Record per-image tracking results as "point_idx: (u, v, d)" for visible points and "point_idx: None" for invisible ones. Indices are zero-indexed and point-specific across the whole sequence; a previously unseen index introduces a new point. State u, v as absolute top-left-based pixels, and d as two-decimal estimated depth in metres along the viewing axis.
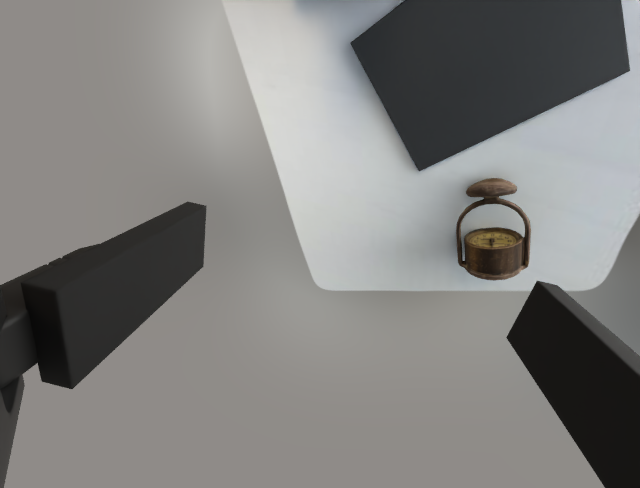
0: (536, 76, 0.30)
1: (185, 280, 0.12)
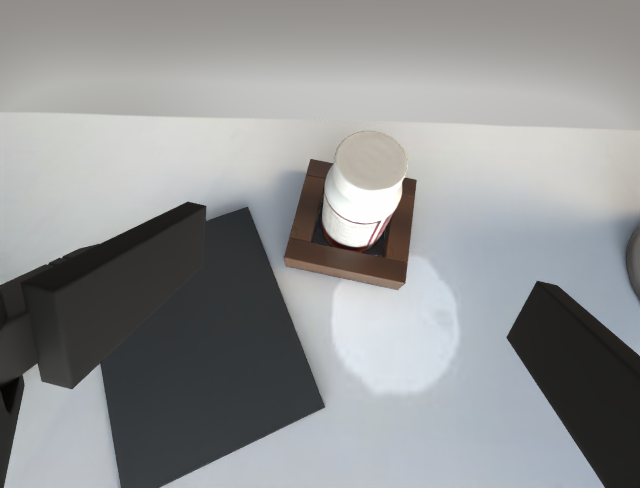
0: (155, 390, 0.26)
1: (185, 280, 0.12)
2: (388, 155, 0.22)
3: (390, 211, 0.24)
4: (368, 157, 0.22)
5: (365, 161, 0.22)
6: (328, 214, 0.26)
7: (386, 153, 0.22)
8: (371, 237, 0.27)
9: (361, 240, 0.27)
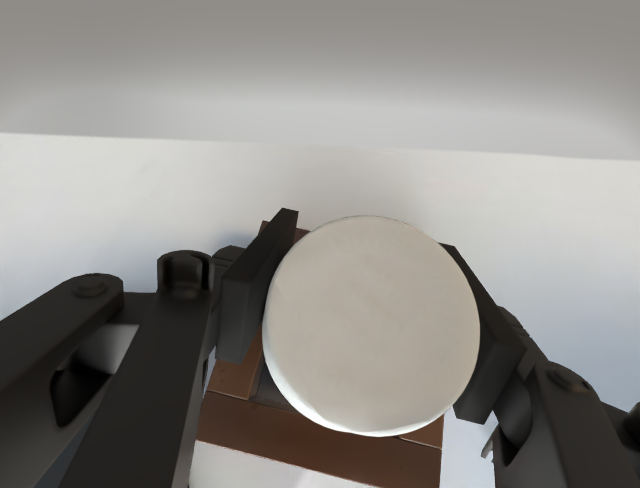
0: None
1: None
2: (422, 297, 0.07)
3: None
4: (365, 302, 0.07)
5: (355, 316, 0.07)
6: None
7: (417, 287, 0.08)
8: None
9: None
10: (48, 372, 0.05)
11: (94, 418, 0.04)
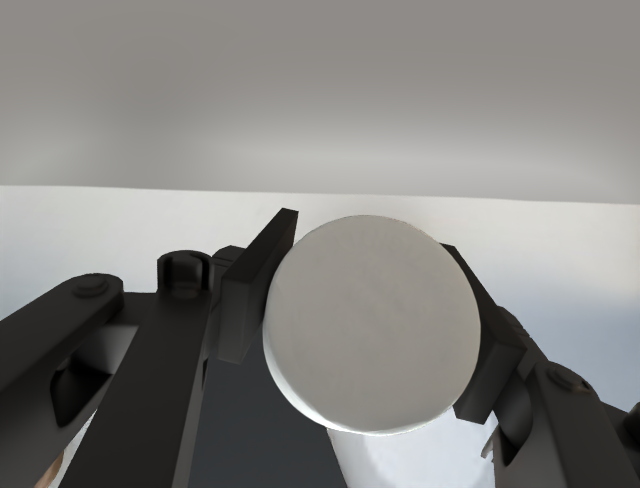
0: None
1: None
2: (423, 296, 0.07)
3: None
4: (366, 302, 0.07)
5: (356, 316, 0.07)
6: None
7: (418, 287, 0.08)
8: None
9: None
10: (46, 372, 0.05)
11: (93, 418, 0.04)
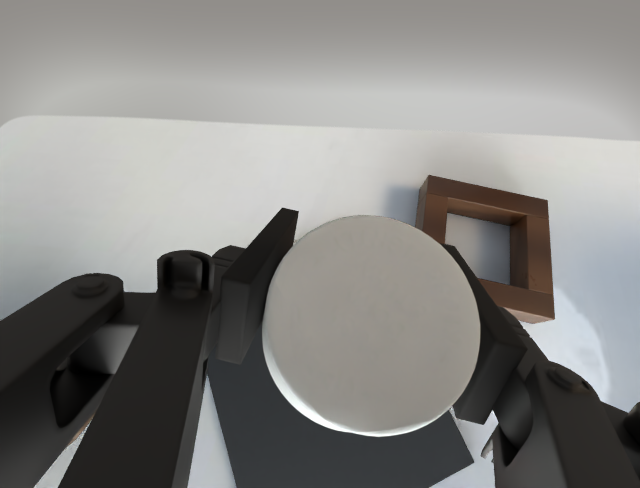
0: (281, 440, 0.22)
1: None
2: (423, 297, 0.07)
3: None
4: (365, 302, 0.07)
5: (355, 316, 0.07)
6: None
7: (417, 287, 0.08)
8: None
9: None
10: (46, 372, 0.05)
11: (94, 418, 0.04)
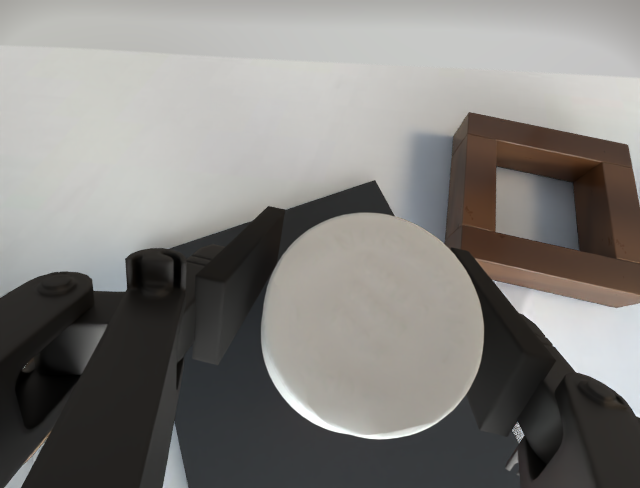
0: (270, 473, 0.15)
1: (268, 276, 0.13)
2: (425, 295, 0.07)
3: None
4: (366, 301, 0.07)
5: (356, 315, 0.07)
6: None
7: (419, 285, 0.07)
8: None
9: None
10: (12, 372, 0.05)
11: (56, 423, 0.04)
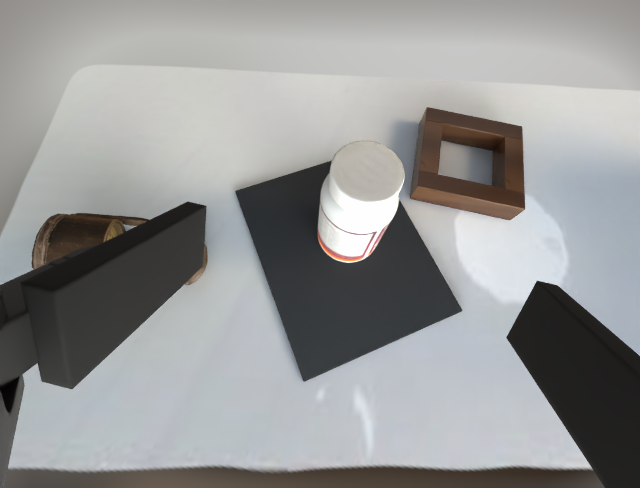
0: (315, 293, 0.29)
1: (185, 280, 0.12)
2: (385, 166, 0.21)
3: (386, 222, 0.23)
4: (365, 167, 0.21)
5: (361, 171, 0.21)
6: (323, 223, 0.26)
7: (383, 163, 0.22)
8: (367, 247, 0.27)
9: (356, 250, 0.27)
10: None
11: None
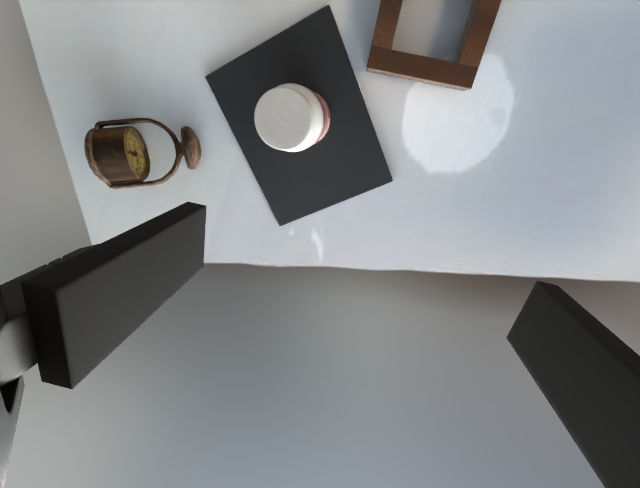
0: (282, 170, 0.40)
1: (185, 280, 0.12)
2: (296, 114, 0.27)
3: (310, 144, 0.30)
4: (280, 117, 0.27)
5: (277, 121, 0.27)
6: None
7: (295, 111, 0.27)
8: (310, 145, 0.34)
9: None
10: None
11: None
